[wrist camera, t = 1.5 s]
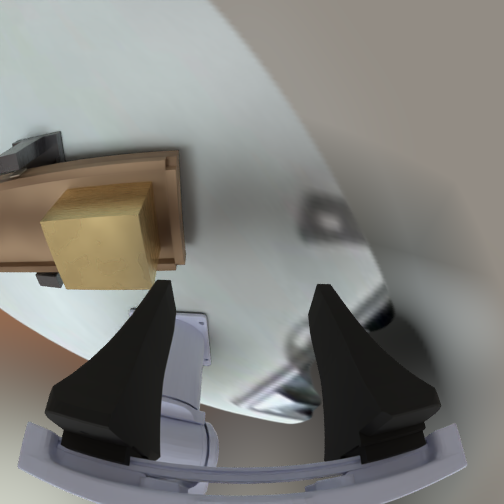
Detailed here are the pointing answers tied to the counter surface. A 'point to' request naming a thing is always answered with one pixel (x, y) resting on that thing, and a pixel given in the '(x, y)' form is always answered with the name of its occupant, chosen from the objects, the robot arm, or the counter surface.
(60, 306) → the counter surface
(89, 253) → the tan wooden block
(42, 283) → the pivot stand
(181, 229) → the beam
